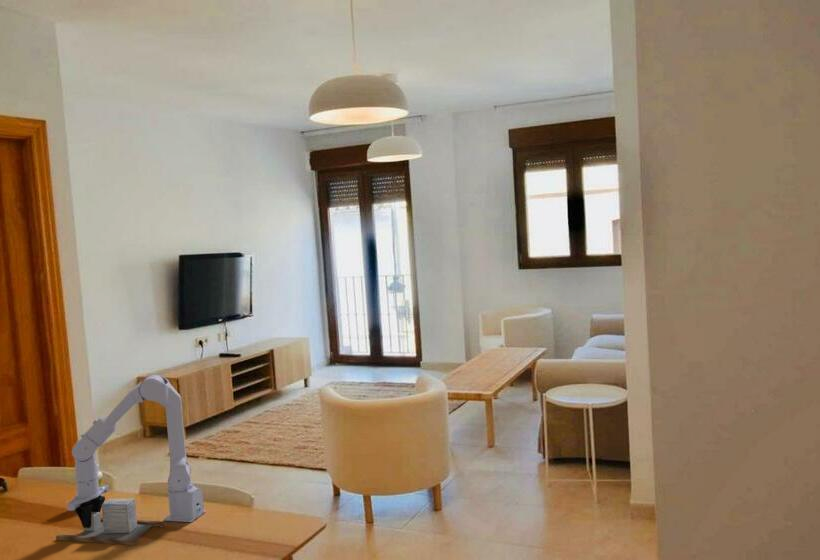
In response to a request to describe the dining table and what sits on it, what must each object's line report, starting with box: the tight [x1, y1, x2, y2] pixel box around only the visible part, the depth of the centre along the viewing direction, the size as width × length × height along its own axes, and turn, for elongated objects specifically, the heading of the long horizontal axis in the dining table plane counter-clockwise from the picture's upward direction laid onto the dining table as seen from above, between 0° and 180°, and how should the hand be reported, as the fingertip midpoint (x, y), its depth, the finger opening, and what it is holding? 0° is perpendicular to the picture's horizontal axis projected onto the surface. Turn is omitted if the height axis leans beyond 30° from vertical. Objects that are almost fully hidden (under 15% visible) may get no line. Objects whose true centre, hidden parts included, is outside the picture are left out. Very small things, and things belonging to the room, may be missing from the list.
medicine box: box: [101, 497, 138, 534], centre depth 184 cm, size 8×4×9 cm, turn 84°
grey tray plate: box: [76, 511, 153, 539], centre depth 185 cm, size 18×9×5 cm, turn 76°
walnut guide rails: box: [55, 517, 164, 546], centre depth 185 cm, size 26×13×1 cm, turn 76°
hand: (90, 525), depth 186 cm, fingers closed on grey tray plate, 2 cm apart
